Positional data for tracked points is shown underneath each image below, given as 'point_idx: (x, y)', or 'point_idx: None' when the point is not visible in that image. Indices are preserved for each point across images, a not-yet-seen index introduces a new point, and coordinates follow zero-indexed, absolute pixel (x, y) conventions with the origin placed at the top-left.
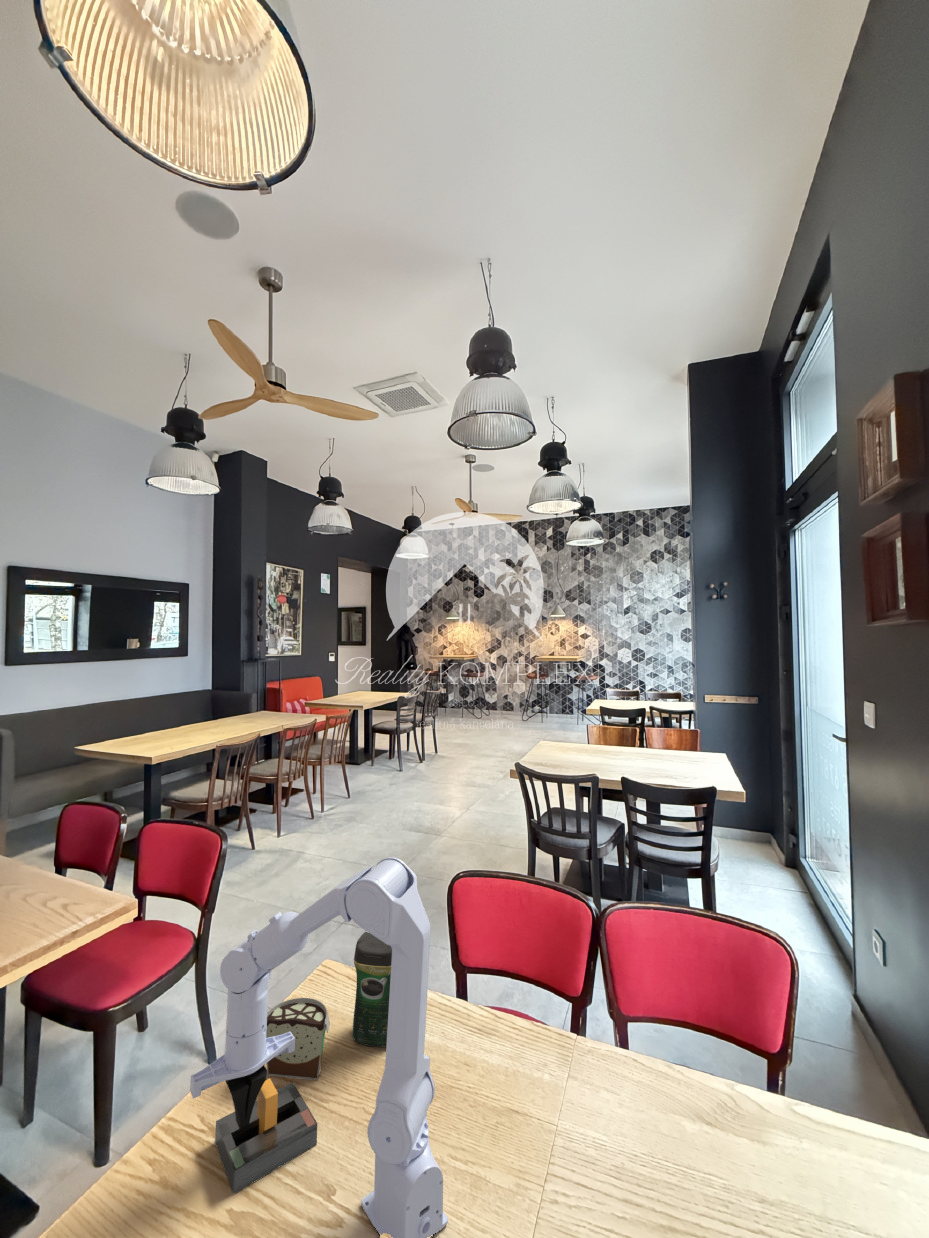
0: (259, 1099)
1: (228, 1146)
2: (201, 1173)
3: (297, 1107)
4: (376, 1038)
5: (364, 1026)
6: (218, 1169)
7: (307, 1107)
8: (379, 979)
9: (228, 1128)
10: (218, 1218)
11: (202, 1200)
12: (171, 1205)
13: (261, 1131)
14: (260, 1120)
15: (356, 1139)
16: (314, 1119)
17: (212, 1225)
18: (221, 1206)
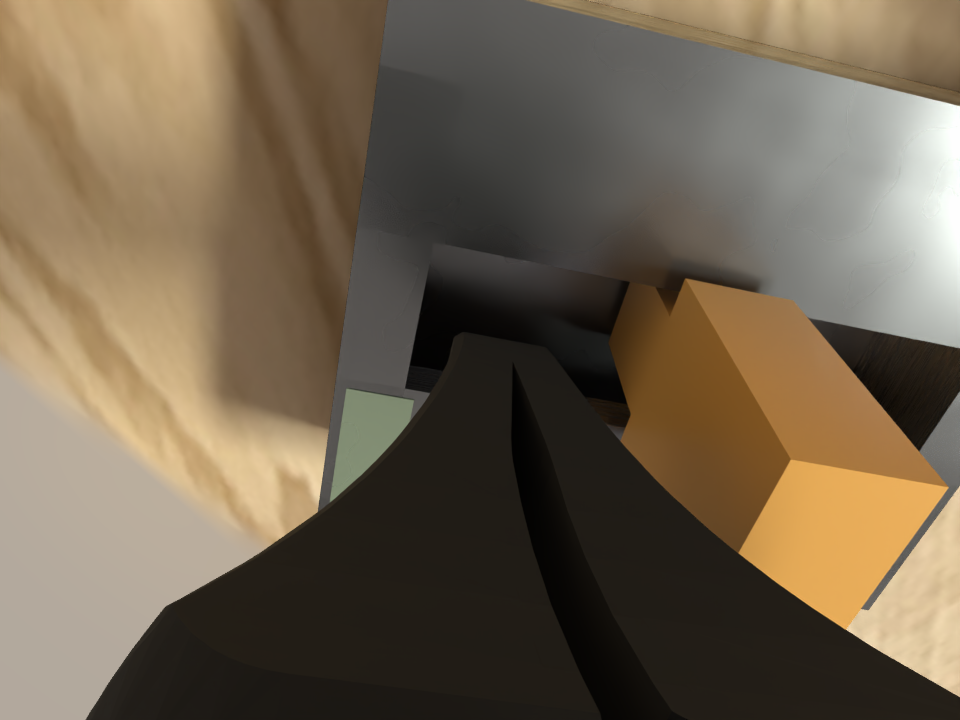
0: (714, 418)
1: (362, 339)
2: (232, 157)
3: (930, 416)
4: None
5: None
6: (336, 223)
7: (956, 482)
8: None
9: (444, 172)
10: (233, 479)
11: (188, 338)
12: (12, 225)
13: (635, 348)
14: (651, 373)
15: (934, 616)
16: (886, 577)
17: (198, 486)
18: (265, 440)
